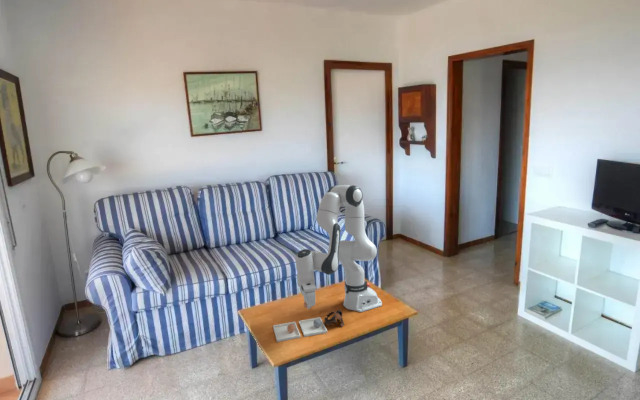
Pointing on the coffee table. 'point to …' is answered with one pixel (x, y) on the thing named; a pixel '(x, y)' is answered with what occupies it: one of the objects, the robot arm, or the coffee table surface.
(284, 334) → the dish
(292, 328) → the terracotta ball
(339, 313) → the pottery mug
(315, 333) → the dish
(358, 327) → the coffee table surface
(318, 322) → the ball grey
